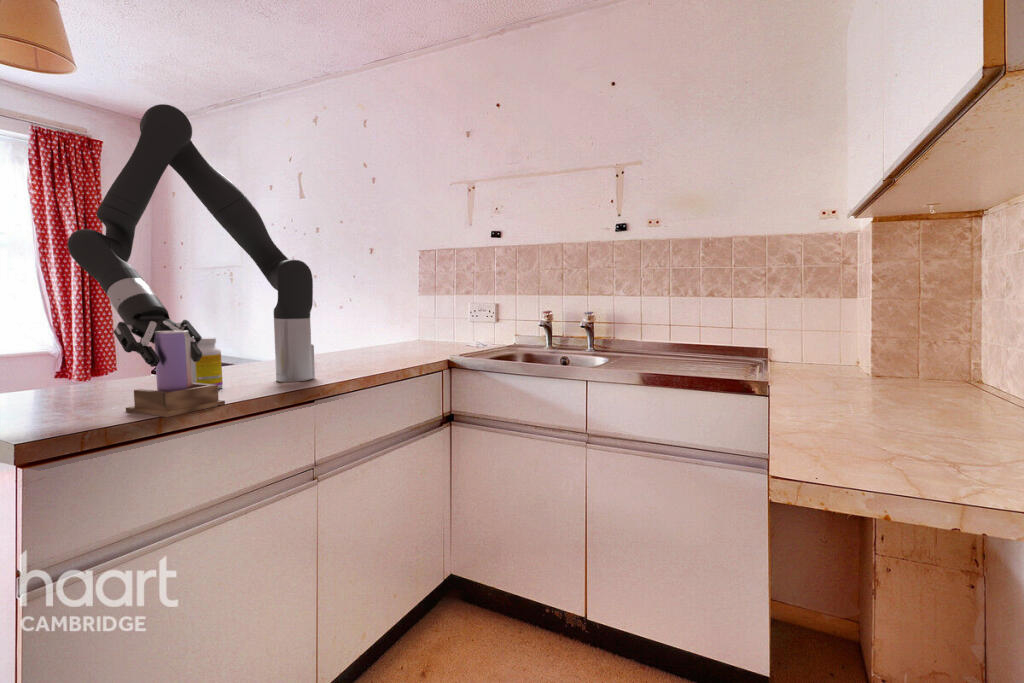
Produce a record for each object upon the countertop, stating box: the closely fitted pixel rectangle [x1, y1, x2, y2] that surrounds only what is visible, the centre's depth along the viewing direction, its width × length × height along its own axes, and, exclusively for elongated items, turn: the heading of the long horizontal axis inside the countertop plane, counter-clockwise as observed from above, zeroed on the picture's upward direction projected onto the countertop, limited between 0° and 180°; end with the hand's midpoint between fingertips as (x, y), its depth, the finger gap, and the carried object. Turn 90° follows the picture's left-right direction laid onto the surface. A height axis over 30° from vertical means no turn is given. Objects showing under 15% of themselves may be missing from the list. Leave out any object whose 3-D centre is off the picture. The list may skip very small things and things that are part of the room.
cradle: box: [125, 383, 226, 418], centre depth 98 cm, size 12×12×4 cm
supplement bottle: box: [191, 337, 224, 390], centre depth 118 cm, size 7×7×13 cm
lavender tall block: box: [154, 330, 193, 392], centre depth 98 cm, size 6×6×15 cm
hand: (178, 361), depth 97 cm, fingers open, 8 cm apart
